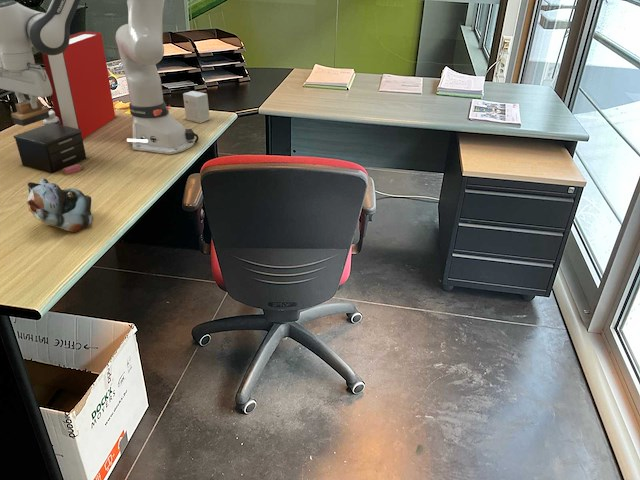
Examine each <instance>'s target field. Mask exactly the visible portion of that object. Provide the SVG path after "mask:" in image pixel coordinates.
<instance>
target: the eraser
mask: <svg viewBox="0 0 640 480" xmlns="http://www.w3.org/2000/svg"><path fill="white" fill-rule="evenodd" d="M62 170H63V173H64V174H66V175H69V174H70V175H71V174H73V173H76V172H79V171H82V166H81V165H80V164H78V163H75V164H73V165H71V166H69V167H66V168H63V169H62Z"/></svg>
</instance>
